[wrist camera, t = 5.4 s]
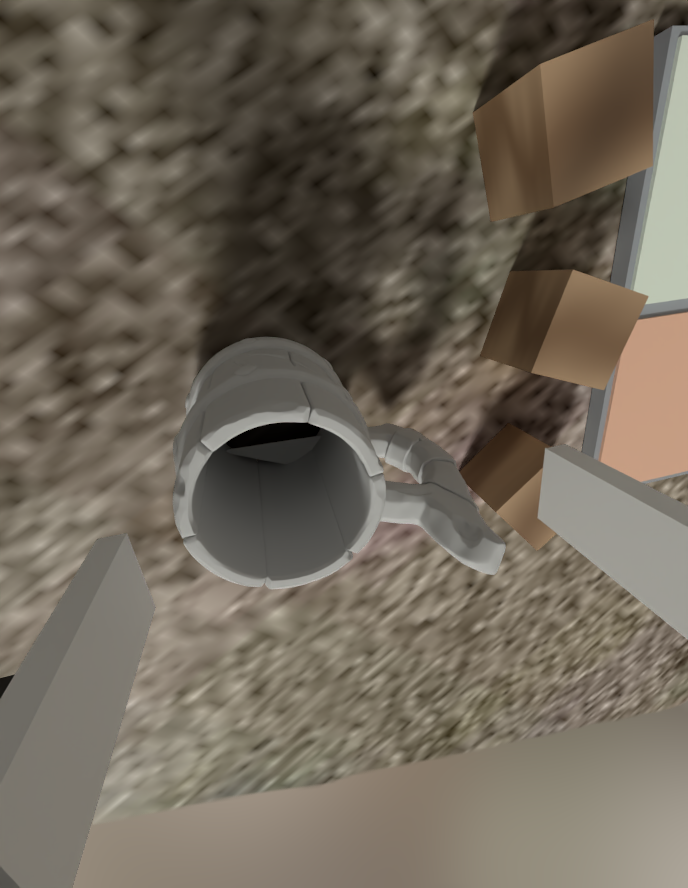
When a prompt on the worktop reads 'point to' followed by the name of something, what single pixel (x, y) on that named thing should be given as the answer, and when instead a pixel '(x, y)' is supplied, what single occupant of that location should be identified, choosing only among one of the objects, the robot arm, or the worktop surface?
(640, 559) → the robot arm
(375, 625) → the worktop surface
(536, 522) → the walnut block
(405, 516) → the mug
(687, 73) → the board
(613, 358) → the walnut block
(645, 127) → the walnut block
